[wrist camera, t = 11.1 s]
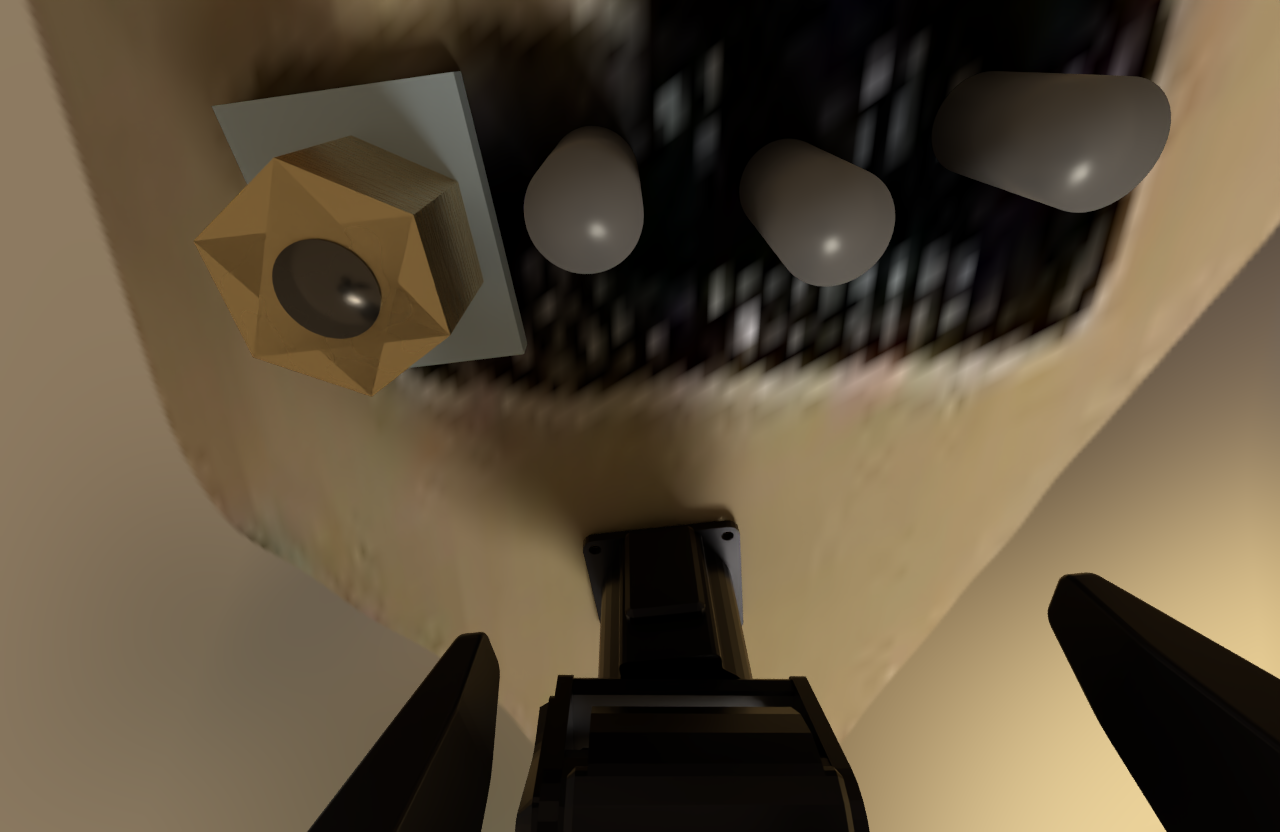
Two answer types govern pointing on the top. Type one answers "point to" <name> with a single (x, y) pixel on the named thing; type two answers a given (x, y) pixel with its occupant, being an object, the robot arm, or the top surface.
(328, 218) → the hex nut
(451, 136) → the pad
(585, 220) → the spacer field
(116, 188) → the top surface
